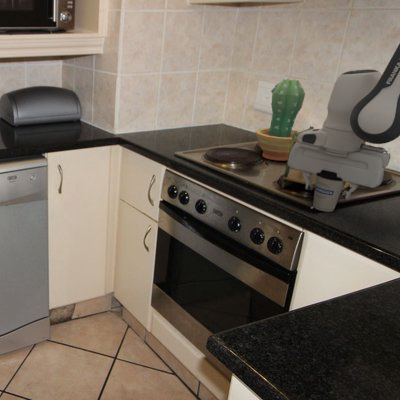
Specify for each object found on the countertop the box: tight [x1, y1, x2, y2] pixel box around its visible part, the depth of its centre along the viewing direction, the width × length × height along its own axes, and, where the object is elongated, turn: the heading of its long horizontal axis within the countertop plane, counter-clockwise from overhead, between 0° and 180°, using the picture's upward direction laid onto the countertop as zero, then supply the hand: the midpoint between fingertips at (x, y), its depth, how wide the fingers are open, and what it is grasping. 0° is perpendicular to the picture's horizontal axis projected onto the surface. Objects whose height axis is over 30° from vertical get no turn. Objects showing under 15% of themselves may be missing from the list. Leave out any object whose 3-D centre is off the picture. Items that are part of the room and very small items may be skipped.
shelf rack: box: [280, 125, 367, 191], centre depth 128 cm, size 14×12×16 cm
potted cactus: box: [255, 78, 306, 162], centre depth 154 cm, size 15×15×25 cm
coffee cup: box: [312, 170, 346, 213], centre depth 117 cm, size 7×7×10 cm
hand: (326, 194), depth 118 cm, fingers closed on coffee cup, 7 cm apart
